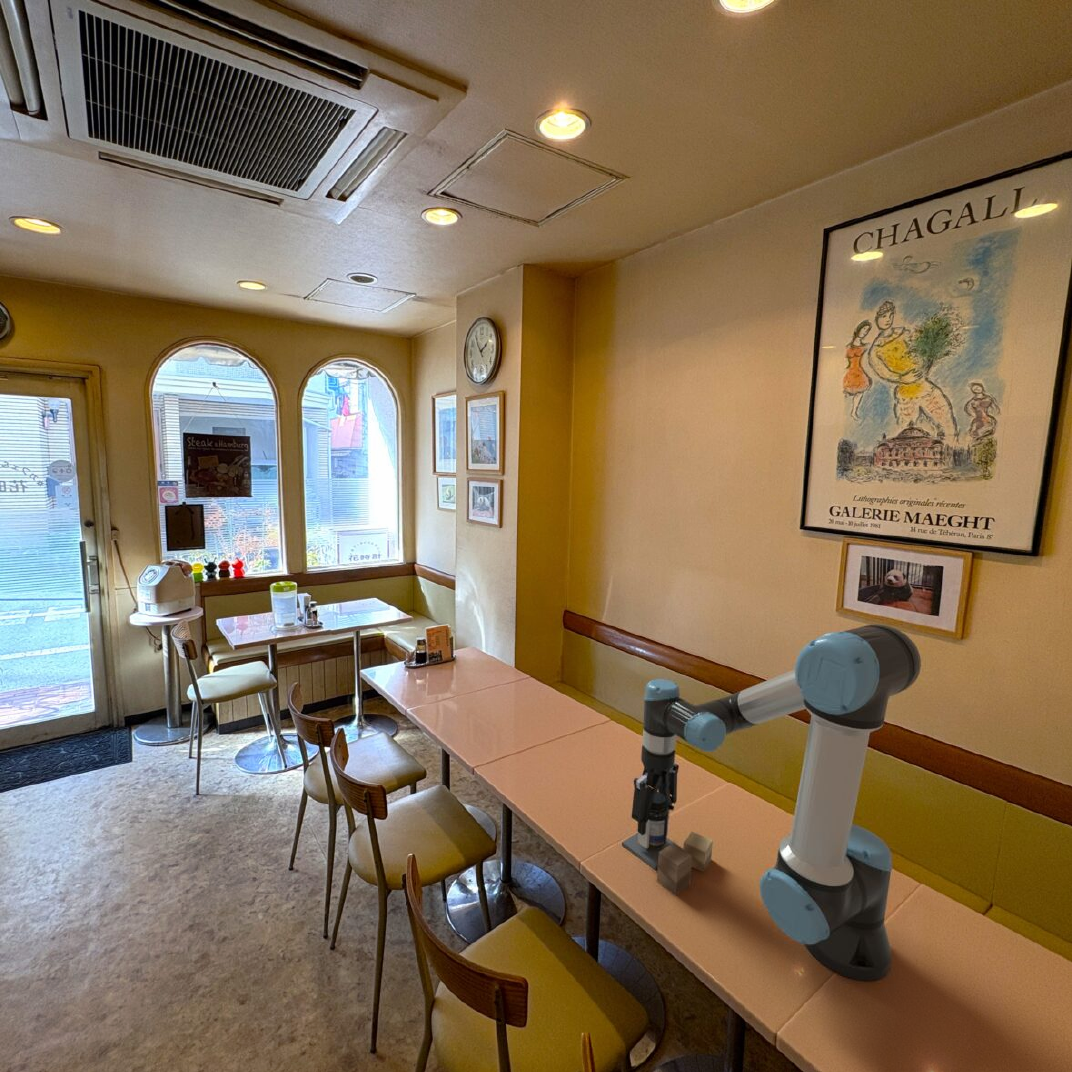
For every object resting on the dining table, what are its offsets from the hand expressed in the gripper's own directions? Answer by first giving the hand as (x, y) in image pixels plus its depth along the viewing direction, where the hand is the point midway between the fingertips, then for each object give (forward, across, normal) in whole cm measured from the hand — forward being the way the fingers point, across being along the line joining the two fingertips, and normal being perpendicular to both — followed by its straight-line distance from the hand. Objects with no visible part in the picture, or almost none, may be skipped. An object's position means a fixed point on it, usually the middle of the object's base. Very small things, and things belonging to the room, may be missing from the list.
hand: (652, 838), depth 134 cm
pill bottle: (+1, 0, 0) cm, 1 cm away
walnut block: (+3, +5, +10) cm, 11 cm away
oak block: (+3, -5, +9) cm, 11 cm away
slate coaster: (+3, 0, 0) cm, 3 cm away
